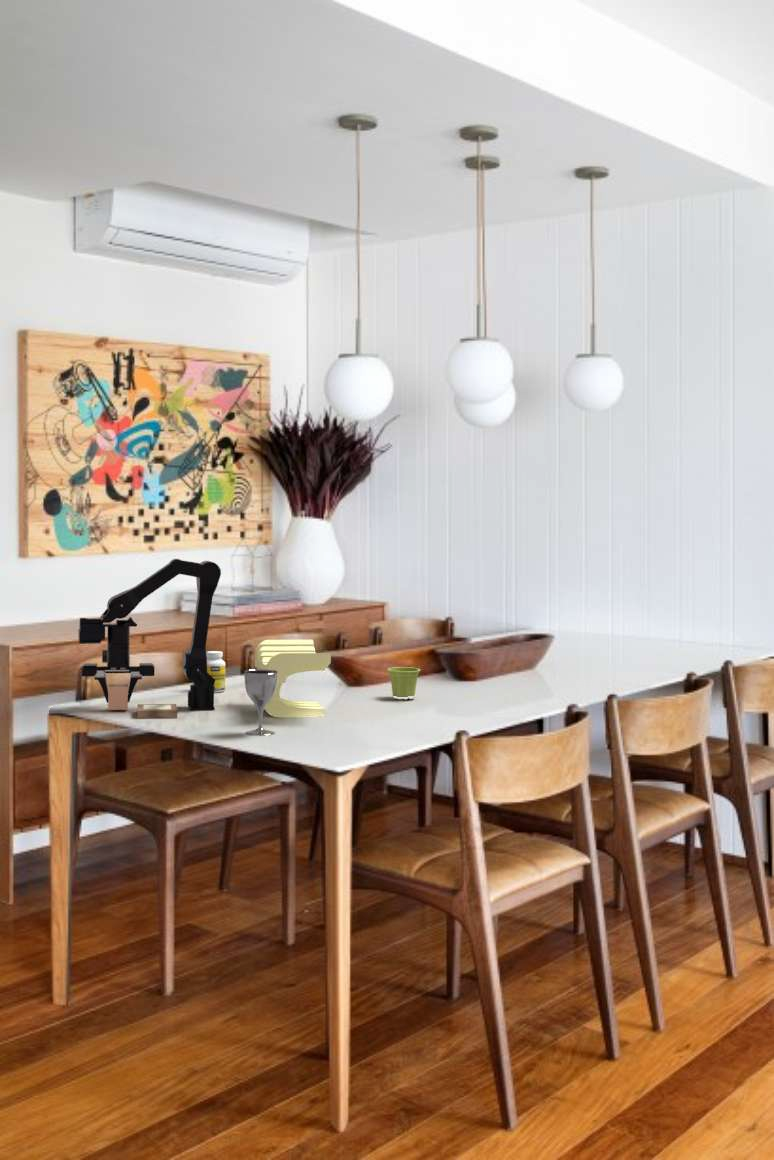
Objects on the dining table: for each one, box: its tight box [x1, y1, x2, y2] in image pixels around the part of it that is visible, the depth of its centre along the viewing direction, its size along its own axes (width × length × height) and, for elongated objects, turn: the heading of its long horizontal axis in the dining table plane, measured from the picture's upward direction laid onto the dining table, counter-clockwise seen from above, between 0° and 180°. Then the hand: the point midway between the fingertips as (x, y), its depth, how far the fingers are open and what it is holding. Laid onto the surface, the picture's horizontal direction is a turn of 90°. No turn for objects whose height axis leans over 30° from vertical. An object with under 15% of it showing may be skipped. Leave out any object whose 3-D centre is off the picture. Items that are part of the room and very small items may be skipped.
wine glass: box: [244, 668, 278, 737], centre depth 313 cm, size 8×8×15 cm
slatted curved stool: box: [254, 639, 332, 718], centre depth 343 cm, size 30×16×18 cm, turn 12°
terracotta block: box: [107, 683, 129, 711], centre depth 341 cm, size 5×5×6 cm
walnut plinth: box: [136, 703, 178, 719], centre depth 336 cm, size 10×10×2 cm
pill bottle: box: [206, 650, 226, 694], centre depth 377 cm, size 6×6×12 cm
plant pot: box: [387, 666, 421, 697], centre depth 371 cm, size 9×9×9 cm
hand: (118, 702), depth 341 cm, fingers closed on terracotta block, 5 cm apart
